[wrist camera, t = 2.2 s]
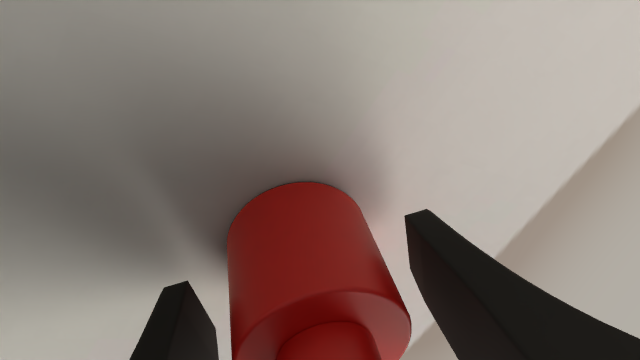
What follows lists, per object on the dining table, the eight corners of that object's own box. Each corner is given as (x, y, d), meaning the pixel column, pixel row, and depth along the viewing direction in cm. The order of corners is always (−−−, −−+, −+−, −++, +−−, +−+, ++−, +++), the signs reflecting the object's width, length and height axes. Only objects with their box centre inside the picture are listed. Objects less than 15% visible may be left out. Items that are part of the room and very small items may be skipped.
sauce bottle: (337, 290, 14) (396, 477, 10) (214, 281, 13) (216, 495, 8) (384, 192, 12) (485, 369, 8) (244, 169, 11) (268, 369, 6)
